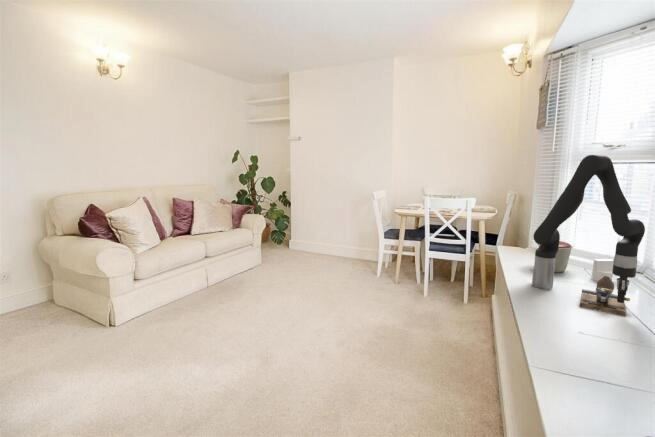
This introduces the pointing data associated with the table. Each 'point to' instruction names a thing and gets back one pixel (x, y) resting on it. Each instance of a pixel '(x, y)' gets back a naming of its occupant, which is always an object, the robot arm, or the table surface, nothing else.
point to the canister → (562, 256)
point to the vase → (606, 283)
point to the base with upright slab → (602, 269)
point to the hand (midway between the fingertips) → (620, 302)
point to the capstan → (603, 294)
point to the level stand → (602, 304)
